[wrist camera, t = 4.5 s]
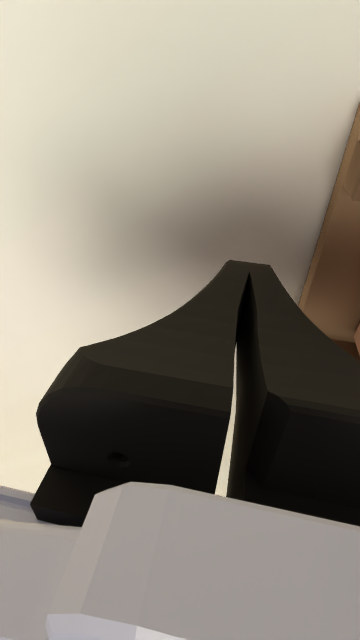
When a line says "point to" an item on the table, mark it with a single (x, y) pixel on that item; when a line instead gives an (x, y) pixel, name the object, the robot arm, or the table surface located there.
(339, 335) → the chute
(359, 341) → the block
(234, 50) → the table surface
